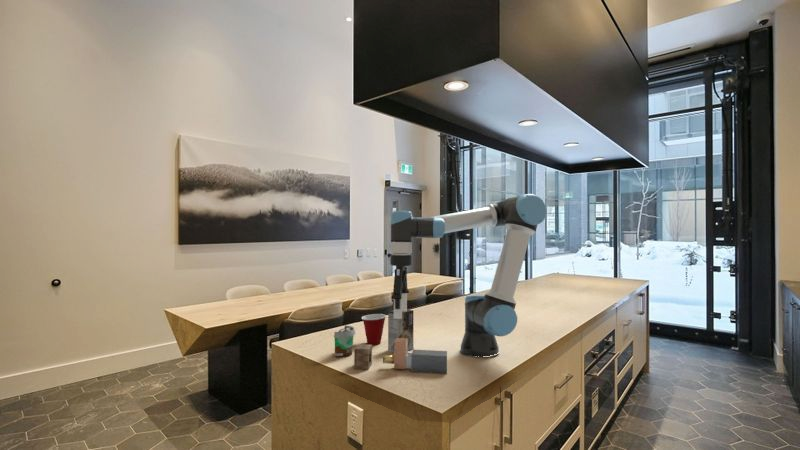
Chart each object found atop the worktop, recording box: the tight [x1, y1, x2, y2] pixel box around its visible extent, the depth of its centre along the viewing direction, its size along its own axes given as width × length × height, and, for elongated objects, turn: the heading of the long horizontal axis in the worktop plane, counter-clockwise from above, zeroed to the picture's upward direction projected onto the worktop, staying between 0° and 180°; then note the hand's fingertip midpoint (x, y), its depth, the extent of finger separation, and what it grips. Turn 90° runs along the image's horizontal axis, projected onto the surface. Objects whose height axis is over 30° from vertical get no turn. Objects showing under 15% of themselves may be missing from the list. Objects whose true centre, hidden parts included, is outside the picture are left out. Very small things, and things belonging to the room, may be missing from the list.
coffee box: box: [387, 308, 414, 353], centre depth 157 cm, size 9×6×16 cm
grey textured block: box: [353, 343, 373, 371], centre depth 135 cm, size 5×6×7 cm
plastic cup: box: [361, 313, 387, 346], centre depth 166 cm, size 11×11×12 cm
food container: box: [333, 325, 356, 359], centre depth 149 cm, size 12×6×10 cm, turn 168°
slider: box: [382, 338, 412, 370], centre depth 133 cm, size 22×5×9 cm, turn 83°
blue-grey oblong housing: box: [410, 349, 448, 375], centre depth 132 cm, size 12×6×6 cm, turn 83°
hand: (400, 314), depth 134 cm, fingers open, 13 cm apart
